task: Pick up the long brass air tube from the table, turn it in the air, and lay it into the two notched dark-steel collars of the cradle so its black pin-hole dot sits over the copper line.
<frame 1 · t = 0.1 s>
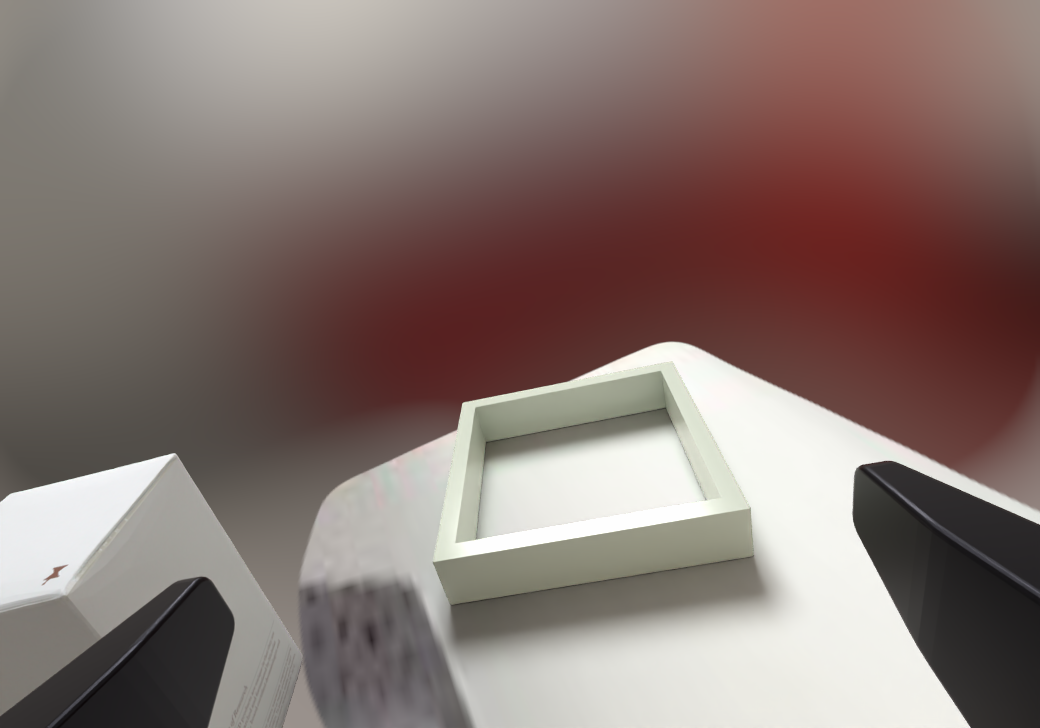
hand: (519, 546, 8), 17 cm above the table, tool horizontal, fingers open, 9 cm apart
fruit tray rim: (583, 483, 34), on the table
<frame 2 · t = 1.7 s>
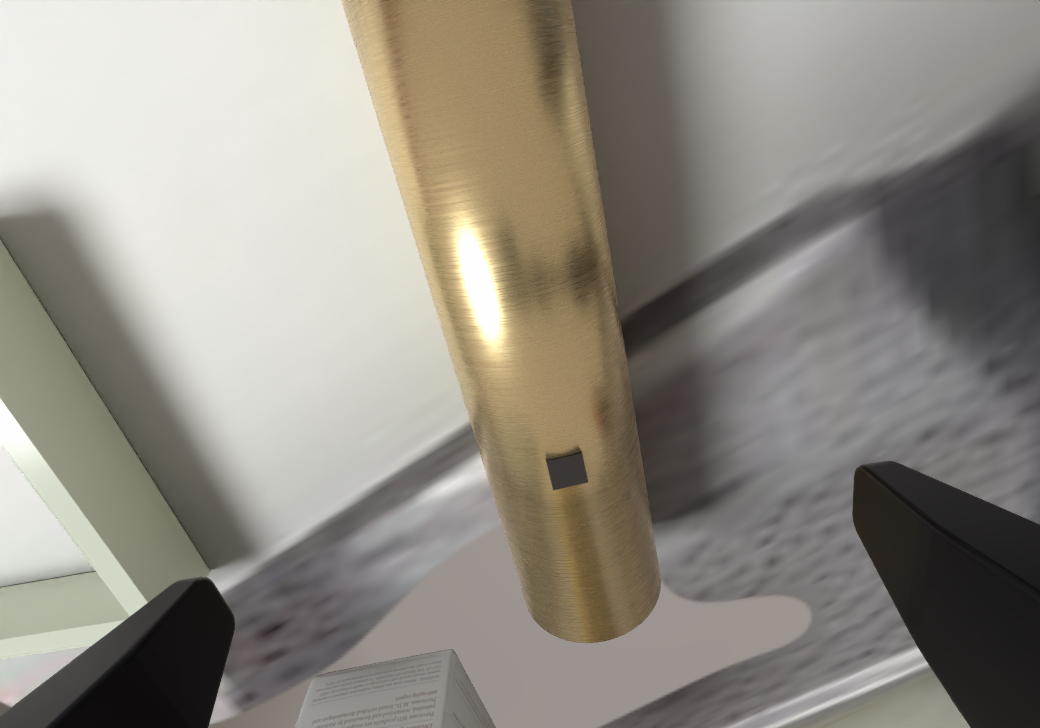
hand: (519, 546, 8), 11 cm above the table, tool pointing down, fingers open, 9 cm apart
supplement box: (411, 702, 28), on the table
air tube: (520, 281, 18), on the table, tilted 5°
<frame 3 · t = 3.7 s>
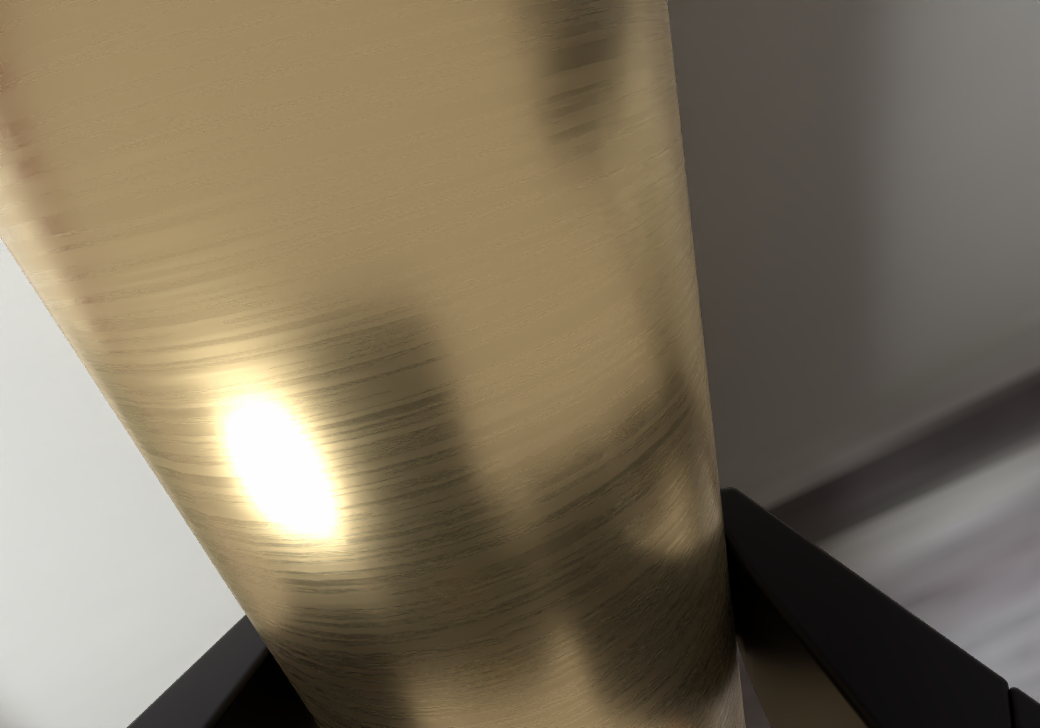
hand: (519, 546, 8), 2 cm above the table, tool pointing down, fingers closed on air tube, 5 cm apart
air tube: (513, 473, 9), on the table, touching gripper
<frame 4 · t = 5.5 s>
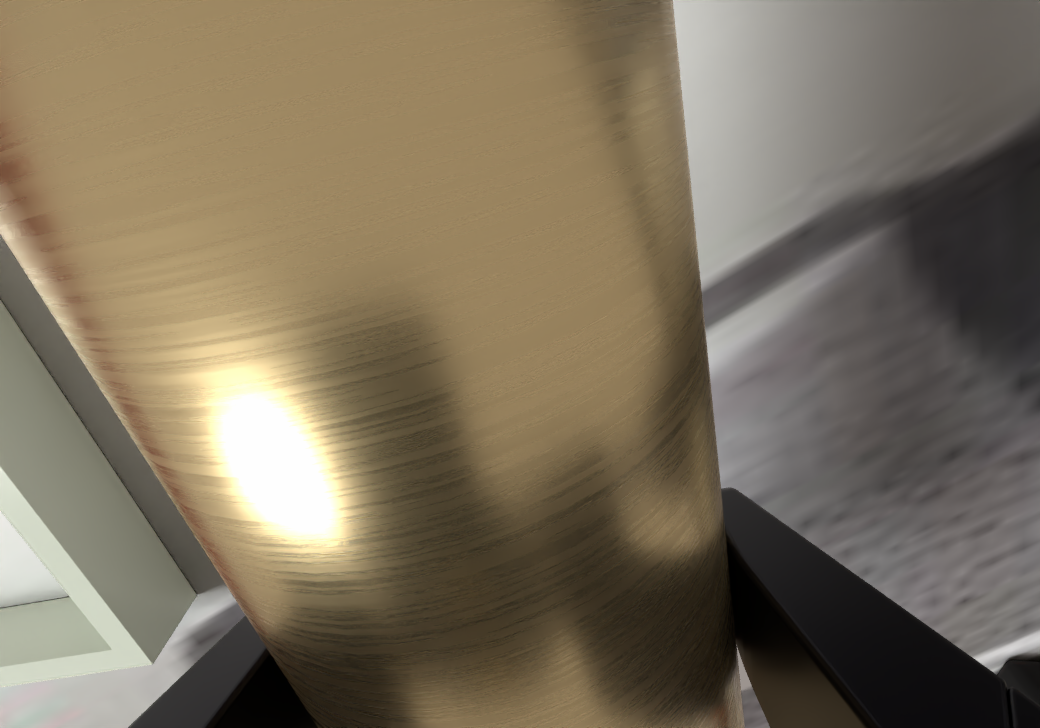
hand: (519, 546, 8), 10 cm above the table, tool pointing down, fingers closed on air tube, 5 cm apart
air tube: (512, 473, 9), point 9 cm above the table, touching gripper
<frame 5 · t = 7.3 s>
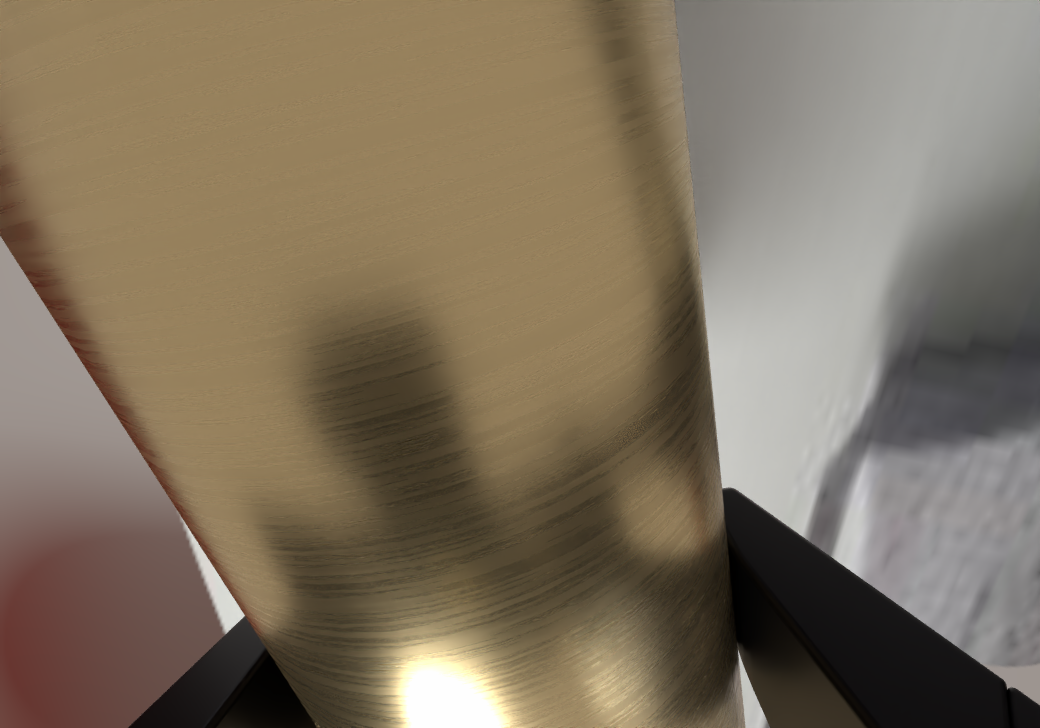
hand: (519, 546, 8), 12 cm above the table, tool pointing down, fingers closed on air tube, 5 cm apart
air tube: (513, 475, 9), point 10 cm above the table, touching gripper
when the fingers open (5 cm above the table, at t = 10.3 s): air tube stays where it is, resting on collar cradle.
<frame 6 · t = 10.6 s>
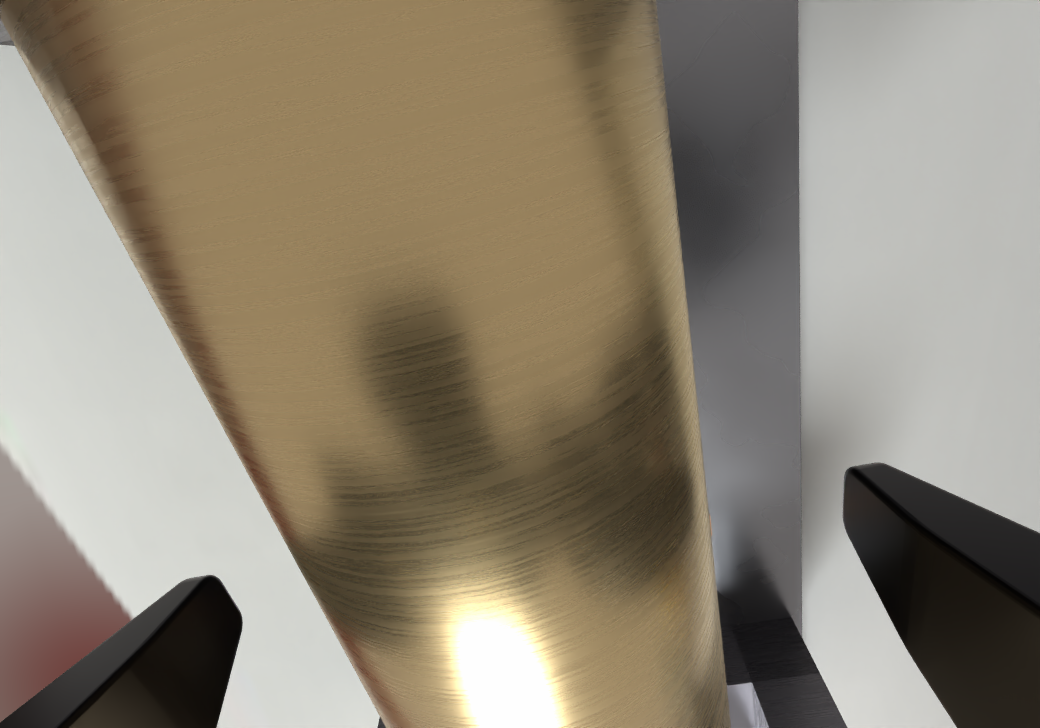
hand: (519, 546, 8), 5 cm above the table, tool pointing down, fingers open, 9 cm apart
air tube: (514, 444, 10), point 3 cm above the table, touching collar cradle
collar cradle: (519, 378, 12), on the table
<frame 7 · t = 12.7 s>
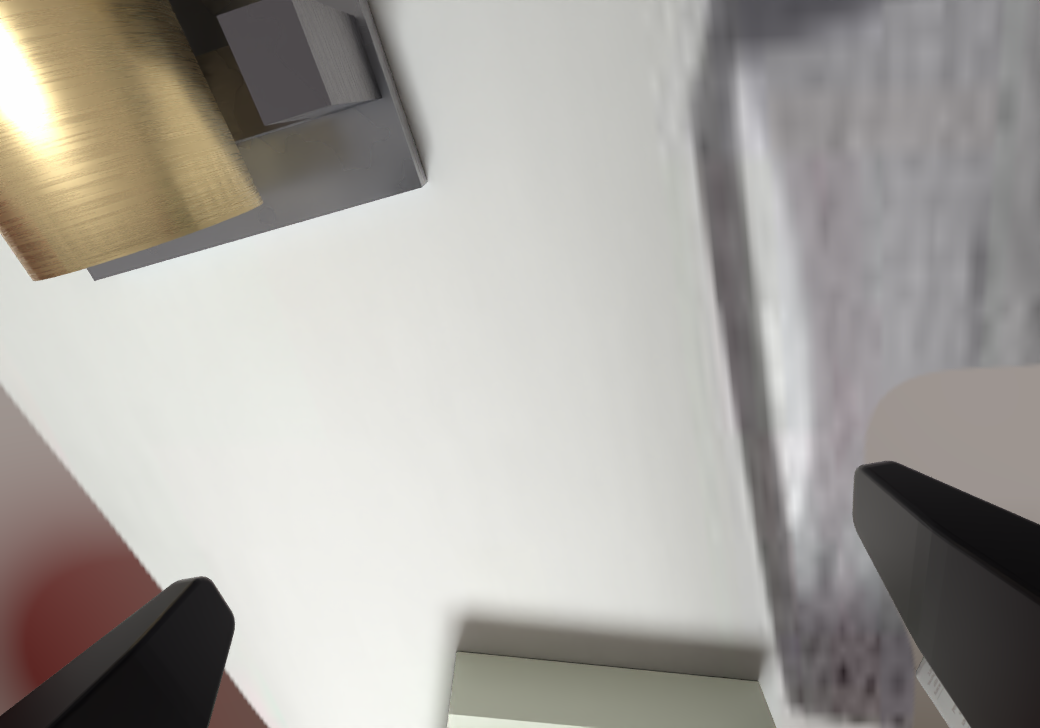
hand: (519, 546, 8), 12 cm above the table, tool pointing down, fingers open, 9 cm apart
supplement box: (1013, 623, 26), on the table
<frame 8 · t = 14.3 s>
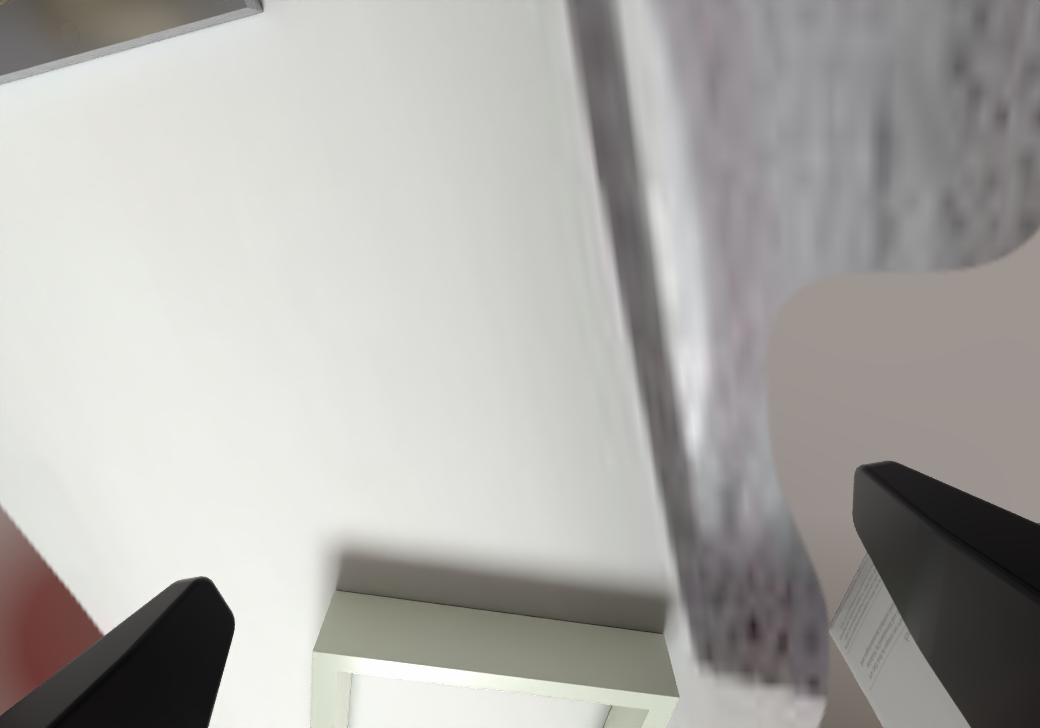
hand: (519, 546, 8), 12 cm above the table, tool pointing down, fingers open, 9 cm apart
supplement box: (931, 575, 25), on the table
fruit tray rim: (478, 714, 29), on the table
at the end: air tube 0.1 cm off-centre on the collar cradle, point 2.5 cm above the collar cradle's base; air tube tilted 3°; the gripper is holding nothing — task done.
